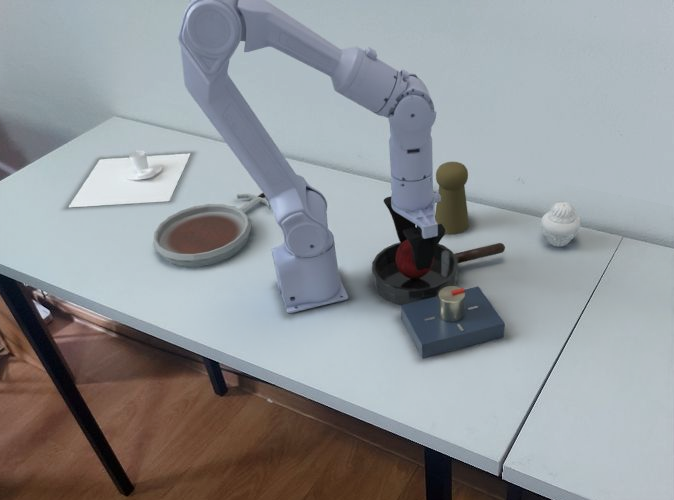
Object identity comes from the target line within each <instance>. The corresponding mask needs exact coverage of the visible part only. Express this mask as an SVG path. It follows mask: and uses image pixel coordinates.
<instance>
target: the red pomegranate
mask: <svg viewBox="0 0 674 500" xmlns="http://www.w3.org/2000/svg"><path fill="white" fill-rule="evenodd" d="M395 261H396V265H397V268H398V270H399V271H400V272H401V273H402V274H403V275H404V276H405V277H408V278H410V279H418V278H421V277H423V276H424V275H426V274H427V273H428V272H429V271H430V269H431V268H432V265H433V261H434V257H433V261H432V264H431V267H430V268H427V269H423V270H419V271H418V270H417V268H416V266H415V264H414V259H413V254H412V249H411V246H410V244H409V241H408V239H407V240H405V241H404V242H403V243H402V244H401V245H400V246H399V247H398V249H397V253H396V257H395Z"/></svg>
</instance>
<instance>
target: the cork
mask: <svg viewBox="0 0 674 500" xmlns="http://www.w3.org/2000/svg"><path fill="white" fill-rule="evenodd" d="M468 179H469V172H468V168H467V167H466V166H465V164H463V163H462V162H458V161H447V162H443V163H442V164H440V165H439V166H438V168H437V169H436V172H435V180H436V183H437V184H438V191H437V192H438V193H439V194H440V196H441V201H440V202H436V205H435V220H436V222H437V224H442V225H443V227H444V228H445V235H457V234H461V233H463V232H465V231H466V230H468V229H469V226H470V220H469V213H468V203H467V196H466V195H467V194H466V184H467V182H468Z"/></svg>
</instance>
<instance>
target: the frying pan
mask: <svg viewBox="0 0 674 500" xmlns="http://www.w3.org/2000/svg"><path fill="white" fill-rule="evenodd" d="M236 198H237V200H238V199H250V200H249V201H247V202H246V203H244V204H243V205H242V206H240V207H239V208H238V207H236V206H234V205H229V204H223V203H206V204H199V205H193V206H191V207H188V208H184V209H182V210H181V209H180V210H179V211H177V212H175V213H173V214H171V215H169V216H168V217H167V218H165V219H164V220H163V221H161V222H160V223H159V224H158V226H157V228H156V229H155V231H154V233H153V238H152V245H153V247H154V249H155V251H156V252H157V253H159V254H160V255H161V257H162V258H163V259H164V260H166V261H167V262H169V263H170V264H172V265H176V266H181V267H185V268H186V267H187V268H188V267H191V268H194V267H195V268H198V267H205V266H210V265H211V266H212V265H214V264H217V263H220V262H223V261H225V260H228V259H230V258H231V257H233V256H234V255H236V254H238V253H239V252H240V251H241V250H242V249H243V248H244V247H245V246H246V245H247V242H248V240H249V237H250V232H251V229H252V223H251V219H250V218H249V217H248V215H247V214H246V213H245V212H246V211H248V210H249V209H251V208H252V207H254V206H255V205H256V204H258V203H259V202H260V203H263V204H266V206H267V208H268V209H269V210H272V208H271V205H270V202H269V200H268V199H267V198H266V196H265V195H264V193H263V192H262V193H260V194H259V195H254V194H251V193H237V194H236Z"/></svg>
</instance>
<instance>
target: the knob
mask: <svg viewBox="0 0 674 500" xmlns="http://www.w3.org/2000/svg"><path fill="white" fill-rule="evenodd" d="M438 305H439V317H440V318H441V319H443V320H444V321H448V322H455V321H459V320H461V319H462V318H463V317H464V314H465V288H464V287H460V286H457V285H456V286H447V287H444V288H442V289H441V290H440V291H439V294H438Z"/></svg>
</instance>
